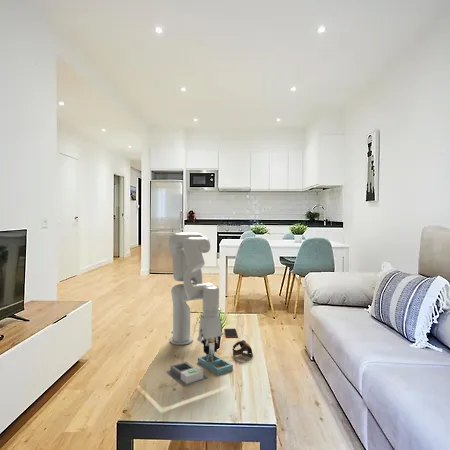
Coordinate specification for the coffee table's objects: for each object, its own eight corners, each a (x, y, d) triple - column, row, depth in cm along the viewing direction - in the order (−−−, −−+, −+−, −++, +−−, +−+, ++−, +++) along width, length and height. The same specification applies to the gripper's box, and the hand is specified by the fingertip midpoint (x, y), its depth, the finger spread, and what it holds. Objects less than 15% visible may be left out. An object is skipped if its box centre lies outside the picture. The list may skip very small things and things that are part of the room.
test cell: (204, 359, 163) (204, 334, 163) (211, 356, 166) (211, 332, 165) (209, 362, 160) (209, 336, 160) (216, 359, 162) (216, 335, 162)
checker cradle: (165, 374, 154) (165, 364, 154) (188, 367, 161) (188, 357, 161) (183, 389, 141) (183, 377, 141) (208, 380, 148) (208, 370, 148)
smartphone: (225, 337, 200) (224, 328, 215) (225, 338, 200) (224, 329, 215) (238, 336, 200) (235, 328, 215) (238, 338, 200) (235, 329, 215)
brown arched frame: (254, 360, 170) (247, 347, 168) (237, 367, 172) (229, 354, 170) (253, 345, 182) (246, 333, 180) (237, 352, 183) (230, 339, 181)
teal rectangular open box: (197, 364, 164) (197, 357, 164) (212, 360, 169) (212, 353, 169) (217, 377, 151) (217, 369, 151) (232, 372, 156) (232, 364, 156)
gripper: (220, 308, 170) (220, 345, 171) (190, 314, 160) (190, 353, 161) (229, 312, 164) (229, 350, 165) (199, 318, 154) (199, 359, 155)
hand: (210, 351), depth 163 cm, fingers closed on test cell, 3 cm apart
